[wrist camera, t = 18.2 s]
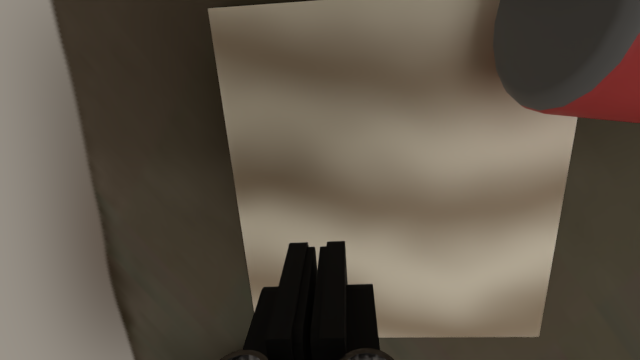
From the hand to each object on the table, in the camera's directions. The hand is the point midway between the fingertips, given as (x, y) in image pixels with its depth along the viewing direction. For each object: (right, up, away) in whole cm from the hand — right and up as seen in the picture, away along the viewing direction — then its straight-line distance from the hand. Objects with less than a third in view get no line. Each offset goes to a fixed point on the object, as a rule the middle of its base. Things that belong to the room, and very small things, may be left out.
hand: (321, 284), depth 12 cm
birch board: (+4, +3, +9) cm, 10 cm away
